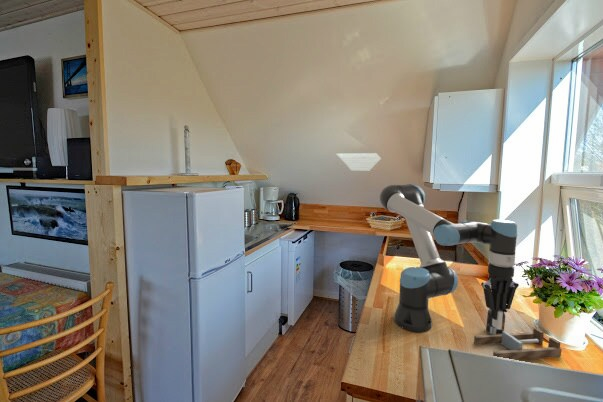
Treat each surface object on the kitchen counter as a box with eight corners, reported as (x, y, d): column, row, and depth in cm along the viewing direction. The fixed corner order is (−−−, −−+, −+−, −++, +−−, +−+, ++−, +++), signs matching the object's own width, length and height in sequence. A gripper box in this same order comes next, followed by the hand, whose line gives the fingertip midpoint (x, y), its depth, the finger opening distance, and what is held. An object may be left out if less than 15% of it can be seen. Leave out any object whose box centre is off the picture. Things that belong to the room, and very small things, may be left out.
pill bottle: (497, 338, 111) (500, 311, 109) (482, 330, 116) (484, 304, 115) (507, 334, 113) (509, 308, 112) (492, 327, 118) (494, 301, 117)
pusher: (518, 356, 99) (519, 343, 99) (501, 343, 107) (502, 331, 106) (546, 354, 101) (547, 341, 100) (527, 341, 108) (528, 329, 107)
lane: (495, 361, 97) (496, 348, 96) (473, 343, 107) (474, 331, 107) (560, 356, 100) (562, 343, 99) (533, 339, 110) (534, 327, 109)
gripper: (492, 268, 94) (488, 334, 97) (527, 266, 96) (522, 331, 98) (476, 261, 102) (472, 322, 104) (509, 260, 103) (504, 320, 105)
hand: (496, 327), depth 101 cm, fingers closed
